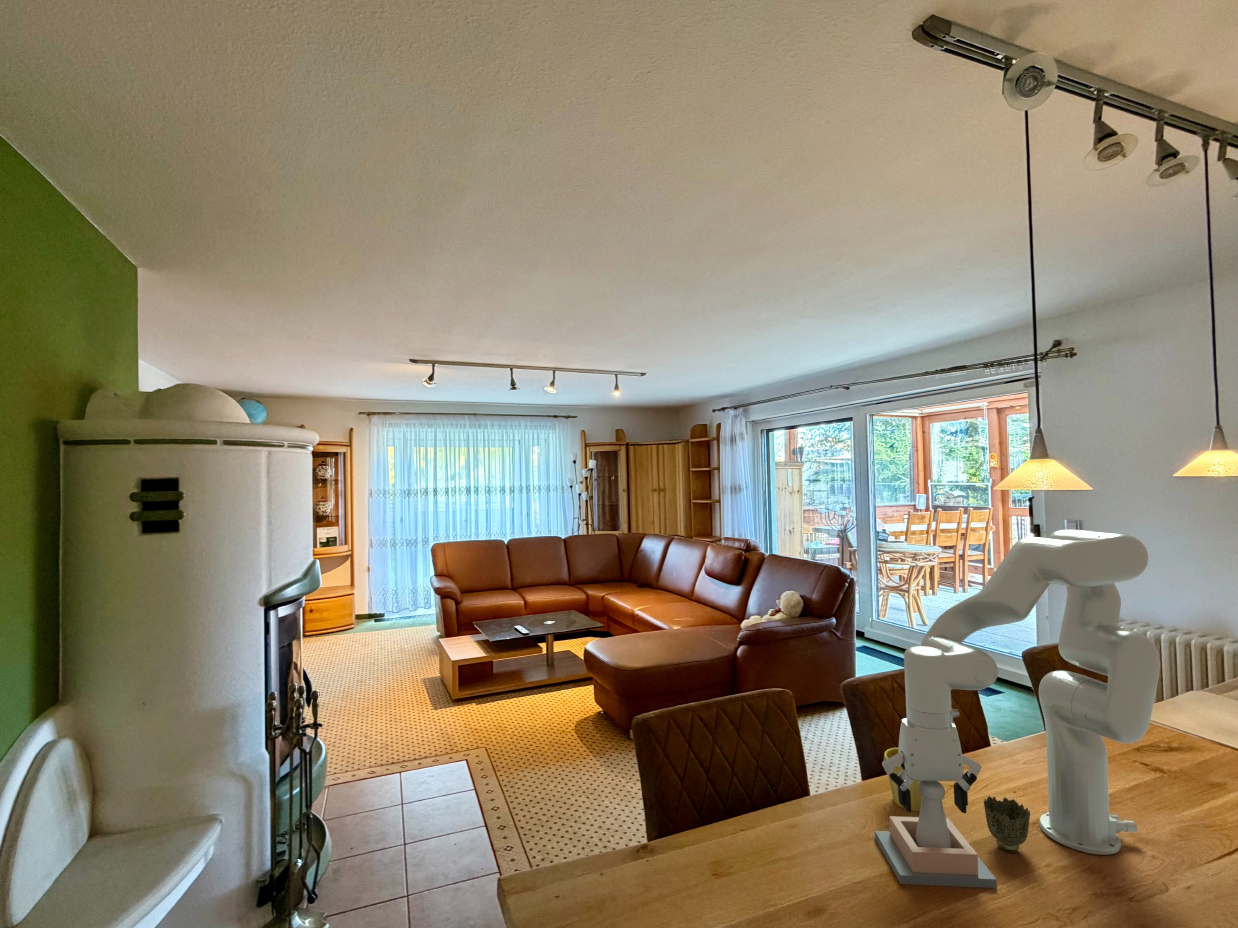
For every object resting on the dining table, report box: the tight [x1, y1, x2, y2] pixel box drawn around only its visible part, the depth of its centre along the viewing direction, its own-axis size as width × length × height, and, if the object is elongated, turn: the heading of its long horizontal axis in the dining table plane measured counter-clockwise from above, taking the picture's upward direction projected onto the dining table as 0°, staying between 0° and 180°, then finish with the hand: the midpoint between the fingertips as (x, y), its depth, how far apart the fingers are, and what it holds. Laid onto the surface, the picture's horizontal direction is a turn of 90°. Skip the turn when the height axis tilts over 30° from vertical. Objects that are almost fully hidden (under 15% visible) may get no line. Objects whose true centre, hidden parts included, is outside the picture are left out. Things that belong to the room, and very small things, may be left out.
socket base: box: [874, 815, 998, 889], centre depth 109 cm, size 16×13×5 cm
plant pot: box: [883, 747, 923, 812], centre depth 129 cm, size 10×10×10 cm
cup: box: [983, 795, 1031, 853], centre depth 113 cm, size 8×7×8 cm
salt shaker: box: [915, 781, 951, 848], centre depth 109 cm, size 6×6×13 cm
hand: (933, 808), depth 110 cm, fingers open, 9 cm apart
